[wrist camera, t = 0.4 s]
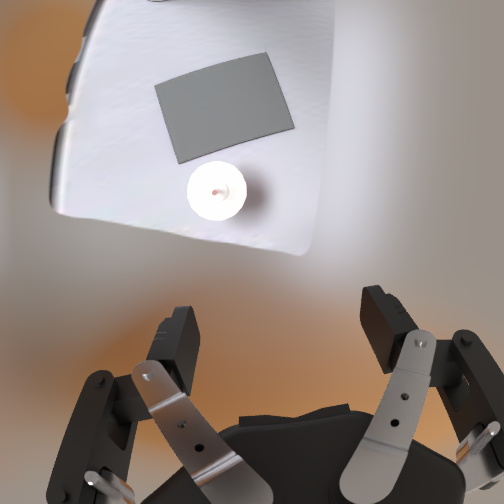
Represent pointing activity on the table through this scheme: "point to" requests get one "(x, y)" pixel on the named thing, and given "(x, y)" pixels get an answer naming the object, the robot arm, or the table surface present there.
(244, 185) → the beverage cup
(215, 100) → the mat
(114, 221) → the table surface
